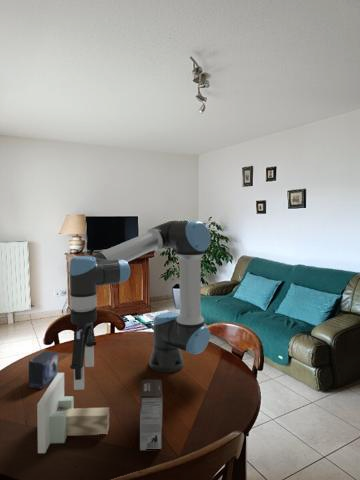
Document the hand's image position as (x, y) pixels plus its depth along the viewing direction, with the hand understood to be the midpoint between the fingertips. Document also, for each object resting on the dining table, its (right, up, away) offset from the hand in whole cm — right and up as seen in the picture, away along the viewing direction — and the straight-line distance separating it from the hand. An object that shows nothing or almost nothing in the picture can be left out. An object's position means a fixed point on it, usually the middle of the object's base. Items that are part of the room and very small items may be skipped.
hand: (84, 376), depth 96 cm
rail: (-1, -17, +1) cm, 17 cm away
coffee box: (+20, -18, -3) cm, 27 cm away
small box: (-25, -15, +29) cm, 41 cm away
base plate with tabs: (-7, -17, 0) cm, 18 cm away
